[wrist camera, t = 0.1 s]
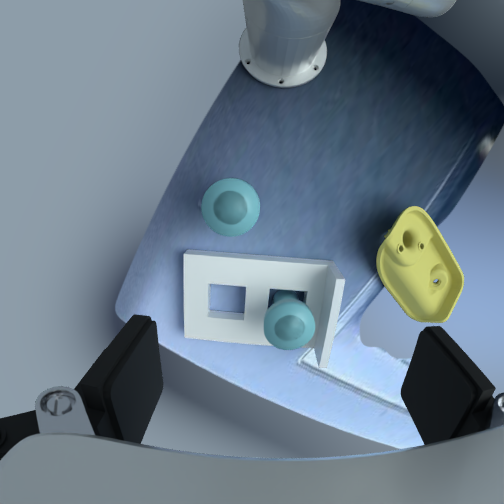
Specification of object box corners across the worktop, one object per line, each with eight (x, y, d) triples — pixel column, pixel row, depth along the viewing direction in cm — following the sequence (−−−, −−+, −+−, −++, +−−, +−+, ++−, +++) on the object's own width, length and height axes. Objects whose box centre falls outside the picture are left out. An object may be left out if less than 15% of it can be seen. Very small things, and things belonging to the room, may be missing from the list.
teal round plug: (214, 174, 44) (202, 177, 36) (262, 177, 44) (261, 180, 35) (212, 220, 46) (200, 234, 37) (258, 224, 46) (257, 238, 37)
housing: (187, 249, 47) (173, 265, 40) (332, 260, 47) (345, 279, 39) (187, 329, 51) (176, 356, 44) (319, 340, 51) (326, 368, 43)
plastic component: (466, 280, 45) (443, 328, 43) (436, 278, 52) (411, 321, 50) (414, 192, 40) (383, 243, 38) (381, 198, 47) (349, 244, 45)
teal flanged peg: (265, 278, 48) (265, 303, 40) (309, 281, 48) (318, 306, 39) (262, 317, 50) (261, 348, 41) (304, 320, 50) (311, 351, 41)
